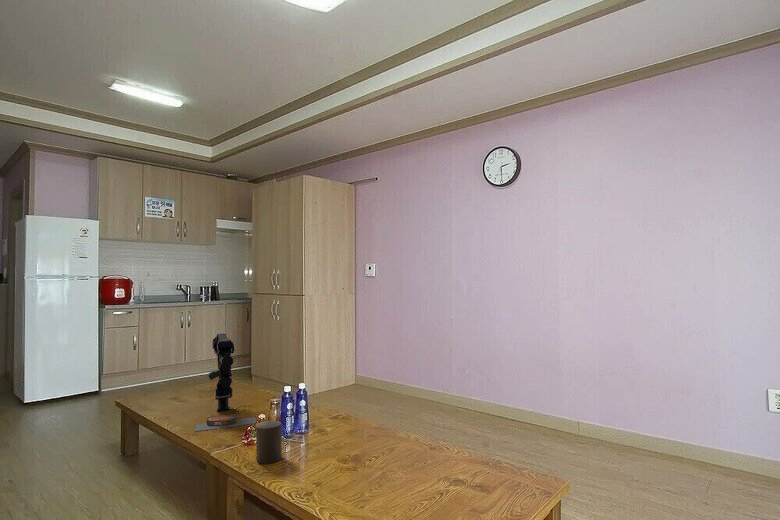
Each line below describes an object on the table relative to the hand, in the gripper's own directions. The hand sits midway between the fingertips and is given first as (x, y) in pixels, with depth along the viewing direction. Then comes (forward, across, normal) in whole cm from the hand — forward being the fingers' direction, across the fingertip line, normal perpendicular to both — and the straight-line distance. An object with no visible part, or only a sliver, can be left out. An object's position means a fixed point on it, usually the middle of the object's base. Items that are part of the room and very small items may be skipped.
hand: (226, 393), depth 236 cm
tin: (+11, +7, 0) cm, 13 cm away
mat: (+12, +13, 0) cm, 18 cm away
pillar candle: (+12, +67, +17) cm, 70 cm away
